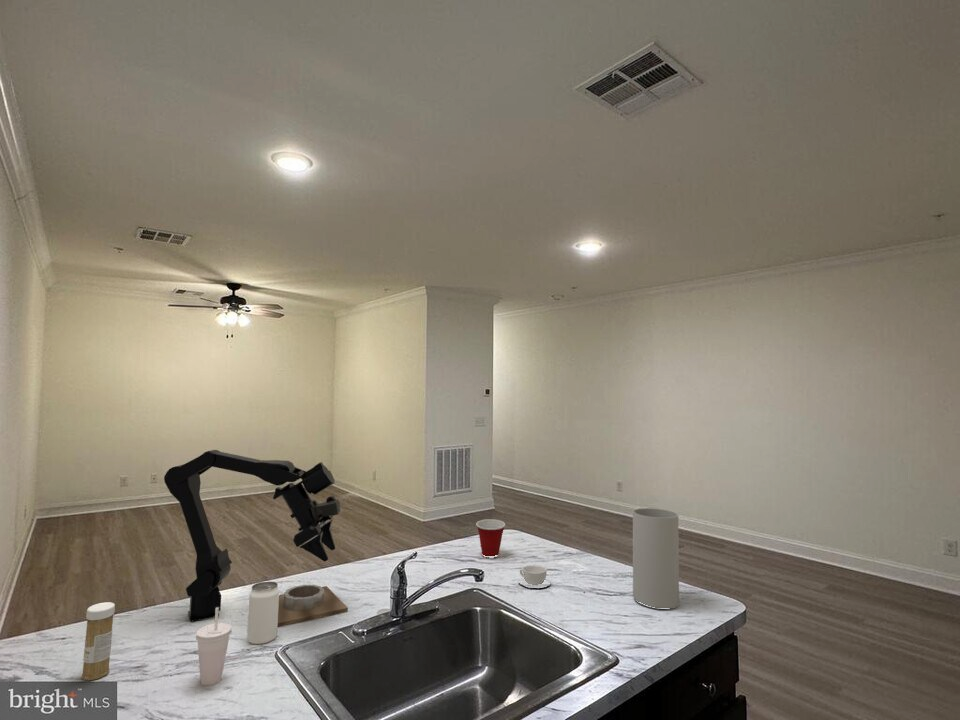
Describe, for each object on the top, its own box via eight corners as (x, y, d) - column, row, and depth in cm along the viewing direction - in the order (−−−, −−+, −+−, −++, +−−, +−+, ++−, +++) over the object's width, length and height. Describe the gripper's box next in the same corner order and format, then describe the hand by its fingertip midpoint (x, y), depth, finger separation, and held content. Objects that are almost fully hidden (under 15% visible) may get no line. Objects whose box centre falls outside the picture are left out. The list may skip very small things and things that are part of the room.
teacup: (555, 583, 158) (555, 567, 158) (541, 593, 149) (542, 576, 150) (527, 576, 163) (527, 561, 163) (512, 585, 155) (512, 570, 155)
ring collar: (289, 613, 128) (289, 601, 129) (279, 600, 137) (280, 589, 137) (328, 605, 134) (328, 594, 134) (316, 593, 142) (317, 582, 142)
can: (265, 646, 113) (268, 592, 114) (240, 643, 115) (243, 589, 116) (282, 633, 120) (285, 582, 121) (258, 630, 121) (261, 579, 122)
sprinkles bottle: (78, 675, 100) (84, 606, 101) (106, 666, 104) (111, 599, 105) (84, 684, 97) (90, 612, 98) (112, 674, 101) (118, 605, 102)
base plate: (276, 627, 123) (276, 623, 123) (260, 602, 138) (261, 598, 138) (347, 611, 133) (347, 607, 133) (326, 589, 148) (326, 586, 148)
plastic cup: (472, 560, 178) (473, 525, 179) (477, 551, 188) (478, 518, 189) (503, 562, 176) (503, 527, 177) (506, 553, 187) (507, 520, 188)
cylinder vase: (664, 614, 135) (664, 520, 137) (624, 600, 145) (624, 511, 147) (687, 603, 144) (686, 514, 145) (647, 590, 153) (647, 506, 155)
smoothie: (204, 693, 95) (208, 616, 96) (185, 682, 99) (190, 608, 100) (235, 677, 101) (239, 605, 102) (217, 668, 104) (221, 598, 105)
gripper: (319, 494, 125) (351, 548, 125) (334, 481, 143) (362, 529, 143) (279, 518, 124) (311, 573, 123) (299, 502, 142) (327, 550, 142)
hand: (330, 554), depth 133 cm, fingers open, 9 cm apart
